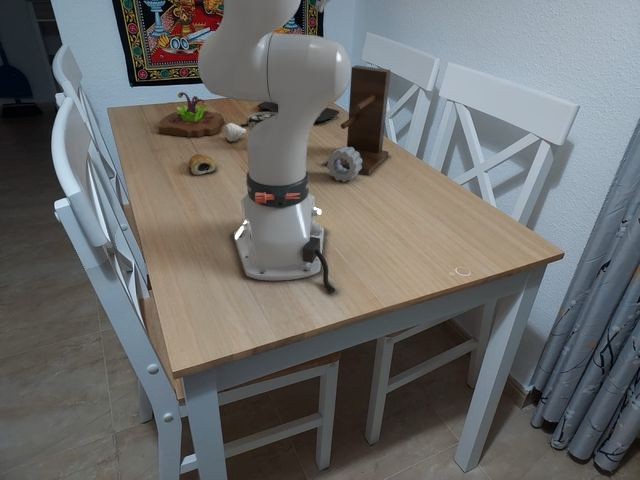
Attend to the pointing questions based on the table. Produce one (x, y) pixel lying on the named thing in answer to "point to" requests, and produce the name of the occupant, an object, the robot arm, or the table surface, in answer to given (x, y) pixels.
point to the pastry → (201, 164)
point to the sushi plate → (323, 116)
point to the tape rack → (367, 116)
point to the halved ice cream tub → (258, 118)
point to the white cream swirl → (233, 132)
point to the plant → (191, 120)
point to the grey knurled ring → (338, 169)
